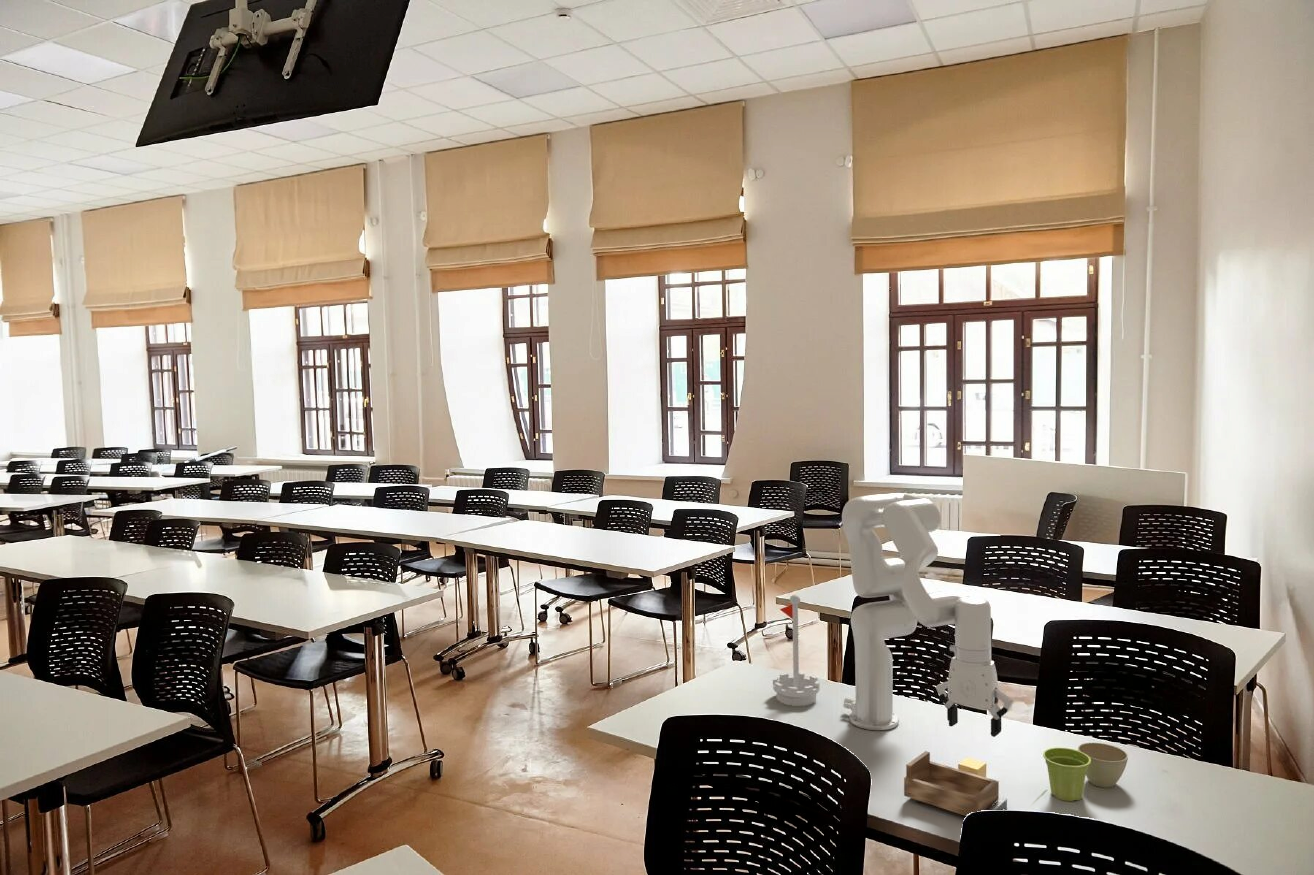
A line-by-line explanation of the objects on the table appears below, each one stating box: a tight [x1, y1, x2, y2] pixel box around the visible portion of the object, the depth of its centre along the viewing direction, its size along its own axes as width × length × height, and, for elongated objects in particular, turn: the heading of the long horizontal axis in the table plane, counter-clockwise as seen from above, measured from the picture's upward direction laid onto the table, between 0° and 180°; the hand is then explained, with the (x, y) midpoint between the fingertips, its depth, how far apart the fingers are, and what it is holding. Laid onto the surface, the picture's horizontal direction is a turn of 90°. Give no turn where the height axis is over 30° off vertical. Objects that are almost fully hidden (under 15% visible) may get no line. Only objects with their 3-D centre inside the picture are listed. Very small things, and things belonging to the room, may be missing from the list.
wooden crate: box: [903, 750, 1000, 817], centre depth 194 cm, size 16×11×8 cm
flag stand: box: [772, 593, 821, 707], centre depth 257 cm, size 13×13×30 cm
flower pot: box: [1077, 742, 1129, 789], centre depth 203 cm, size 10×10×7 cm
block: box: [957, 756, 987, 778], centre depth 205 cm, size 4×4×4 cm
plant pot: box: [1042, 747, 1091, 802], centre depth 198 cm, size 9×9×9 cm
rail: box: [988, 797, 1008, 810], centre depth 197 cm, size 28×11×2 cm, turn 47°
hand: (974, 729), depth 203 cm, fingers open, 9 cm apart
